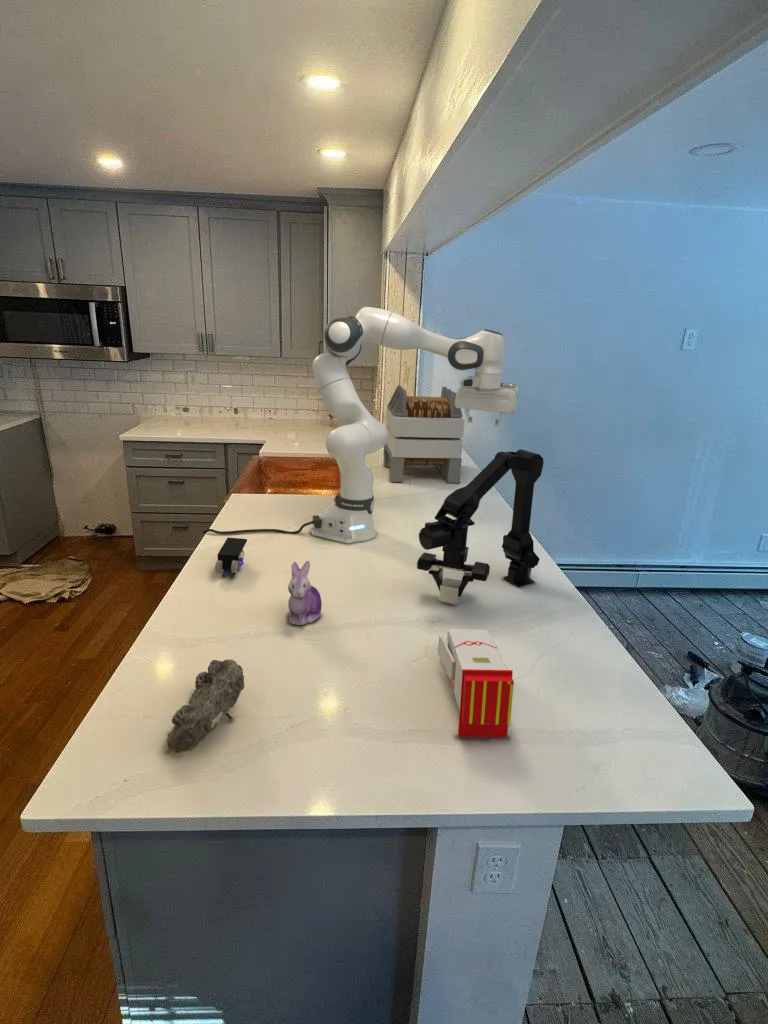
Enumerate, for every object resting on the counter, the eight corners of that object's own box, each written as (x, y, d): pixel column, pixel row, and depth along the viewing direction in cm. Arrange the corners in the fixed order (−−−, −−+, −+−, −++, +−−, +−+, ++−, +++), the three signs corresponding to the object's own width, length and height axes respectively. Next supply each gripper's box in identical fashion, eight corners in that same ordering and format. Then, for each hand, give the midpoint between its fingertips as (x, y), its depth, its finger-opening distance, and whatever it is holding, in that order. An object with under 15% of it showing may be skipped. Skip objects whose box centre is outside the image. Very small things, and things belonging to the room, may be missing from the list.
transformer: (382, 463, 289) (386, 382, 275) (445, 464, 293) (451, 384, 279) (390, 482, 257) (394, 392, 243) (460, 483, 261) (468, 394, 247)
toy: (488, 613, 130) (523, 677, 101) (484, 667, 133) (517, 744, 104) (435, 612, 130) (455, 676, 101) (432, 666, 133) (451, 743, 103)
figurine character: (238, 584, 162) (249, 557, 175) (236, 562, 158) (247, 536, 172) (215, 584, 161) (227, 556, 175) (212, 561, 158) (225, 535, 171)
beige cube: (457, 604, 152) (458, 588, 150) (439, 601, 153) (440, 585, 151) (461, 596, 156) (462, 580, 154) (443, 593, 158) (444, 577, 156)
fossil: (192, 660, 117) (244, 628, 112) (224, 691, 120) (276, 661, 115) (142, 746, 98) (202, 712, 93) (182, 779, 101) (242, 748, 96)
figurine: (293, 630, 138) (292, 574, 133) (280, 610, 146) (279, 557, 141) (329, 622, 142) (330, 568, 137) (314, 603, 150) (315, 552, 145)
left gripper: (521, 383, 185) (515, 425, 190) (459, 378, 191) (455, 419, 196) (518, 385, 180) (513, 428, 184) (455, 380, 185) (451, 422, 190)
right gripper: (495, 537, 153) (489, 588, 159) (428, 526, 159) (425, 576, 164) (489, 552, 143) (482, 606, 149) (418, 540, 149) (414, 593, 154)
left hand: (483, 423), depth 190 cm, fingers open, 8 cm apart
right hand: (450, 594), depth 154 cm, fingers closed on beige cube, 5 cm apart
